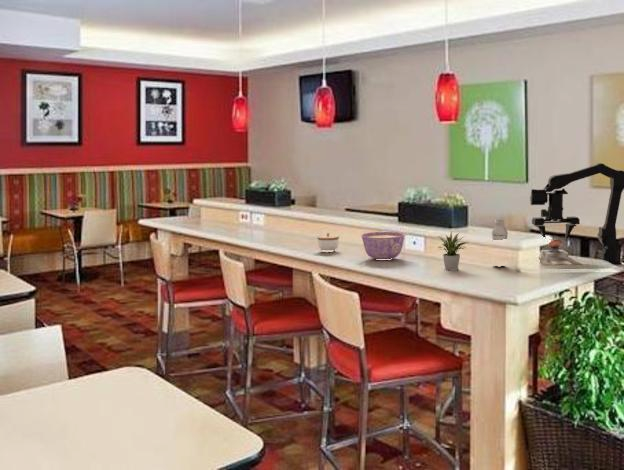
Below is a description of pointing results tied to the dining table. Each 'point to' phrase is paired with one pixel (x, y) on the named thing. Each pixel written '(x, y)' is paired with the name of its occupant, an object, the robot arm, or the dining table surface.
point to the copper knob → (555, 245)
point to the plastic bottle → (499, 231)
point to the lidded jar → (328, 242)
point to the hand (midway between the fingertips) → (555, 240)
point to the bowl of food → (383, 244)
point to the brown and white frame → (557, 258)
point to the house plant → (451, 252)
